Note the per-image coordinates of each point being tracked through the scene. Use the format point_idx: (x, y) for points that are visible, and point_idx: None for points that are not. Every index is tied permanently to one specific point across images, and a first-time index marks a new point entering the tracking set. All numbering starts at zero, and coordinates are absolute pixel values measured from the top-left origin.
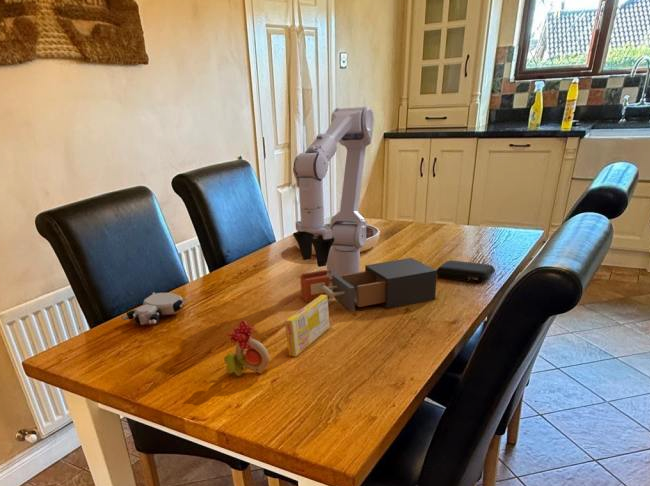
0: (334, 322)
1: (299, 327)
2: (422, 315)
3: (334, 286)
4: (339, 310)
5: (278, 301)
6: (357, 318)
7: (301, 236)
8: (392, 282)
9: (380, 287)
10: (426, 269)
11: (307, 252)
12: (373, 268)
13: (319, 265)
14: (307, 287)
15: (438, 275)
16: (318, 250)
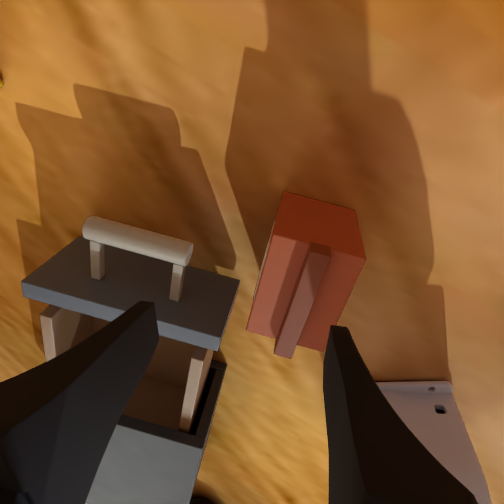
0: (43, 148)
1: None
2: (8, 341)
3: (170, 289)
4: (137, 227)
5: (399, 95)
6: (47, 225)
7: (352, 501)
8: None
9: None
10: None
11: (329, 384)
12: (150, 439)
13: (132, 306)
14: (275, 222)
15: (203, 501)
16: (33, 370)
